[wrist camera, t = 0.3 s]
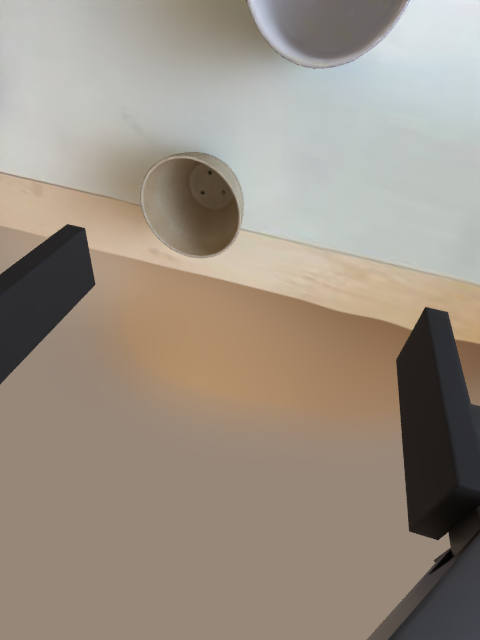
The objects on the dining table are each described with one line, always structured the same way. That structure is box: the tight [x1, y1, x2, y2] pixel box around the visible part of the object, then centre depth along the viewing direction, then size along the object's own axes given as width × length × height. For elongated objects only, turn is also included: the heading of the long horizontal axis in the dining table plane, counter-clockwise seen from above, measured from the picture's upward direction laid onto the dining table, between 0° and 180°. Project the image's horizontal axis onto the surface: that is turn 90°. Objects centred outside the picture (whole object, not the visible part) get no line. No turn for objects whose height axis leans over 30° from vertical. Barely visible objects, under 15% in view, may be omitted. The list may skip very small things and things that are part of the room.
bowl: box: [141, 152, 244, 258], centre depth 39 cm, size 10×10×7 cm
